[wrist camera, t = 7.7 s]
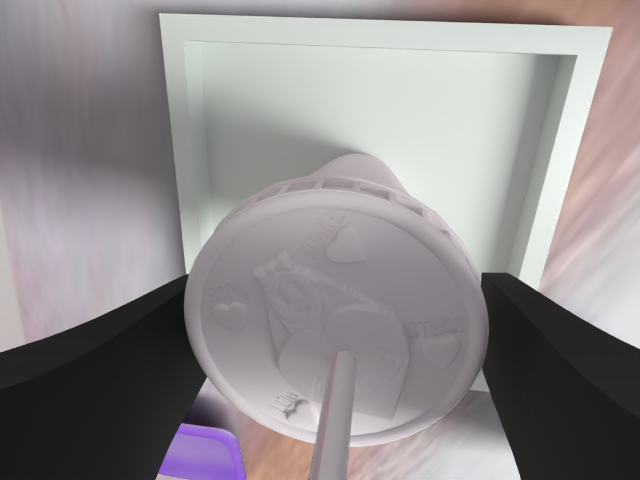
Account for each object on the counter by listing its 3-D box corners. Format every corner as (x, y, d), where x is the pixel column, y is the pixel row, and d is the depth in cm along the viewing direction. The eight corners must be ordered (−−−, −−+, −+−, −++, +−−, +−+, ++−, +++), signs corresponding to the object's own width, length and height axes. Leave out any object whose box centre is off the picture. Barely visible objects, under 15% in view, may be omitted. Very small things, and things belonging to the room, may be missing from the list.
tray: (586, 31, 14) (613, 27, 13) (497, 367, 20) (507, 394, 18) (182, 18, 16) (159, 13, 14) (208, 332, 22) (194, 354, 20)
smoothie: (338, 289, 19) (248, 745, 6) (251, 177, 18) (-98, 483, 5) (464, 217, 17) (712, 690, 4) (378, 82, 15) (355, 183, 3)
